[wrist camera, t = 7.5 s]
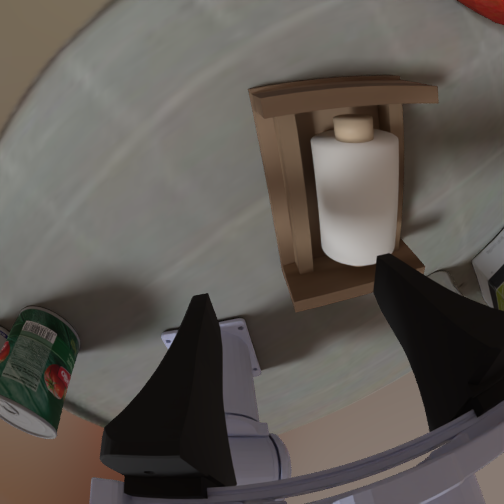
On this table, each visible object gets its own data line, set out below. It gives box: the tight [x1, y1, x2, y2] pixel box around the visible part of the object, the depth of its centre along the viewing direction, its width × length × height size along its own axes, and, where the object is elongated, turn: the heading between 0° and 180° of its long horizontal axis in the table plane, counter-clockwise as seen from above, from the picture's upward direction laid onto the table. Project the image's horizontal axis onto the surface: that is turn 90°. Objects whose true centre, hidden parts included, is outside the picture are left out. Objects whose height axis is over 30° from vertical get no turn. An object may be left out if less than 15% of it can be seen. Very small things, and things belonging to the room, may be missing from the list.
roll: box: [311, 114, 399, 267], centre depth 17 cm, size 9×5×5 cm, turn 11°
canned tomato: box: [0, 306, 80, 439], centre depth 21 cm, size 8×8×11 cm
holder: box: [248, 75, 438, 312], centre depth 18 cm, size 14×10×5 cm
